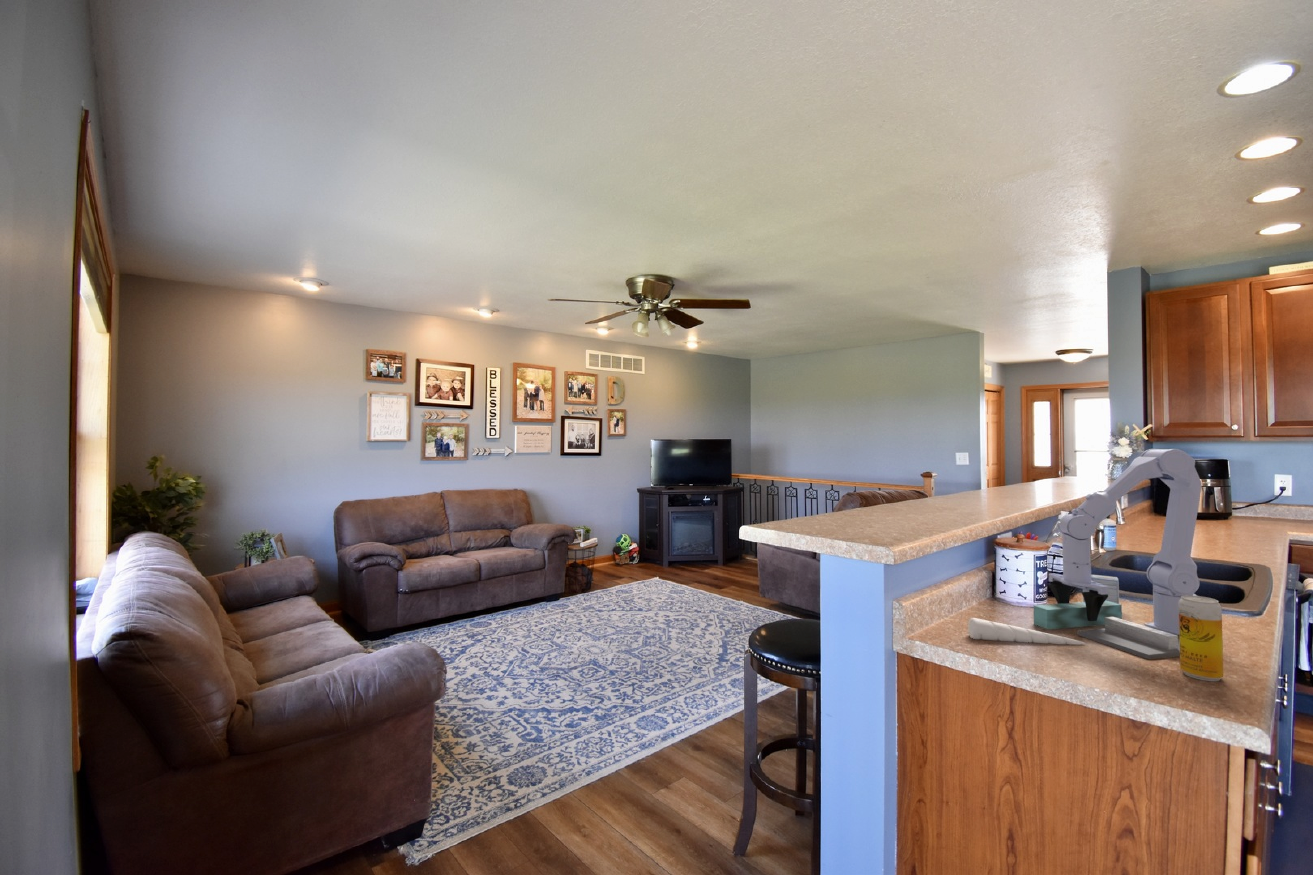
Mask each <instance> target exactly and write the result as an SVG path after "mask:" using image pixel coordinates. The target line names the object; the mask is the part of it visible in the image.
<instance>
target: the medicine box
mask: <svg viewBox="0 0 1313 875" xmlns="http://www.w3.org/2000/svg"><path fill="white" fill-rule="evenodd" d="M1091 581H1094V582H1097V583H1099V584H1102V585H1105V586H1108V598H1107V599H1106V600H1105V601H1110V602H1113V603H1117V604H1120V586H1119V585H1120V582H1119V578H1118V577H1117V576H1111V575H1110V576H1109V575H1101V574H1100V575H1099V574H1091ZM1082 592H1089V590H1085V589H1082ZM1082 602H1085V600H1084V597H1083V596H1082Z"/></svg>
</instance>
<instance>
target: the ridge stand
mask: <svg viewBox="0 0 1313 875" xmlns="http://www.w3.org/2000/svg"><path fill="white" fill-rule="evenodd" d="M1077 636H1080V637H1082V638H1084V639H1085V638H1086V639H1088V640H1091V641H1094V642H1097V643H1099V642H1100V644H1103V645H1105V646H1108V647H1110V648H1115V649H1116V650H1117V649H1118V650H1119V651H1123V652H1126V653H1129V654H1131V655H1135V656H1137V657H1140V658H1143V659H1146V660H1156V659H1167V658H1176V657H1180V640H1179V635H1176V634H1173V633H1169V632H1166V631H1162V630H1159V629H1156V628H1152V627H1149V626H1145V625H1144V624H1143V625H1142V624H1139V623H1136V622H1133V621H1128V620H1125V619H1123V618H1122V619H1119V618H1116V617H1105V625H1104V628H1094V629H1084V630H1077Z"/></svg>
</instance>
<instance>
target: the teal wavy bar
mask: <svg viewBox="0 0 1313 875" xmlns="http://www.w3.org/2000/svg"><path fill="white" fill-rule="evenodd" d="M1122 610H1123V609H1122V604H1120V603H1119V604H1117V603H1113V602H1110V601H1105V602H1104V603H1103V605H1102V607H1101V609H1100V612H1099V615H1098V618H1097V621H1088V619H1087V613H1086V604H1085V602H1083V601H1079V602H1069V603H1063V604H1057V603H1053V604H1051V603H1050V604H1039V605H1038V604H1037V605H1035V604H1034V605H1033V625H1034V626H1037V625H1038V627H1041V628H1043V629H1045V630H1053V629H1054V630H1057V629H1067V628H1069V627H1070V628H1079V627H1081V628H1082V627H1093V626H1094V625H1096V626H1105V617H1116V618H1119V619H1123V618H1122V617H1123V611H1122ZM1070 628H1069V629H1070Z"/></svg>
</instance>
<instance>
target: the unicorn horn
mask: <svg viewBox="0 0 1313 875" xmlns="http://www.w3.org/2000/svg"><path fill="white" fill-rule="evenodd" d="M967 625H968V626H967V627H968V628H967V630H968V634H969V637H970V638H971V639H972V638H973V639H972V640H983V641H985V640H986V641H1000V642H1011V643H1012V642H1013V643H1014V642H1017V643H1028V642H1029V643H1031V644H1032V643H1033V644H1047V645H1048V644H1050V645H1071V646H1078V645H1079V646H1082V645H1086V644H1087V643H1086V642H1083V641H1082V640H1077V639H1073V638H1070V637H1065V636H1061V635H1057V634H1052V633H1047V632H1043V631H1039V630H1034V629H1029V628H1025V627H1019V626H1015V625H1010V624H1005V623H1001V622H997V621H991V620H987V619H983V618H982V619H980V618H979V617H978V618H977V617H971V618H970V619H969V620H968V624H967Z"/></svg>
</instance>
